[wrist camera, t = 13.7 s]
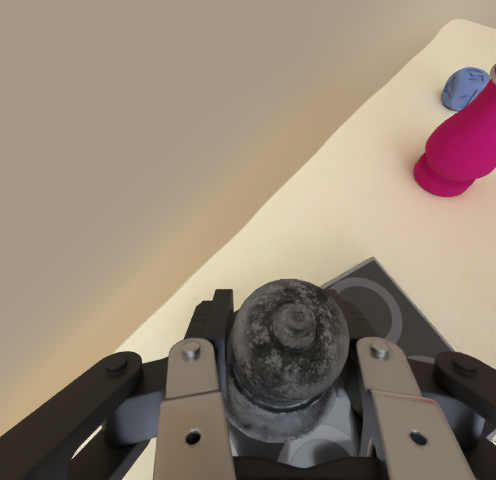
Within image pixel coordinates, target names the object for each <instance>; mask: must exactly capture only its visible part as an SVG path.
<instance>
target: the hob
mask: <svg viewBox="0 0 496 480" xmlns="http://www.w3.org/2000/svg"><path fill="white" fill-rule="evenodd" d="M320 288H322V289H335V290H336V292H337V293H338V295H339V296H340V298H341V300H349V301H350V302H352V303H353V304H355V305H356V306H357V307H358V308H359V309H360V311H361V312H362V315H364V316H365V318H366V320H367V321H368V322H369V323H370V325H371V326H372V327H373V329H374V330H375V332H376V333H377V334H378V336H379V337H380V338H383V339H386V340H389V341H391V342H393V343H394V344H396V345H397V346H399V347H400V348H401V349H402V350H403V352H404V354H405V356H406V358H409V359H413V360H418V361H423V362H427V363H432V364H434V362H435V357H436V355H437V354H438V353H440V352H444V351H453V352H455V350H454V349H453V348H452V347H451V346H450V345H449V344H448V342H447V341H446V340H445V339H444V338H443V337H442V335H441V334H440V333H439V332H438V331H437V330H436V328H435V327H434V326H433V325H432V324H431V323H430V322H429V320H428V319H427V318H426V317H425V316H424V315H423V313H422V312H421V311H420V310H419V309H418V308H417V306H416V305H415V304H414V303H413V302H412V301H411V300H410V298H409V297H408V296H407V295H406V294H405V293H404V291H403V290H402V289H401V288H400V287H399V286H398V284H397V283H396V282H395V281H394V280H393V279H392V278H391V276H390V275H389V274H388V273H387V272H386V271H385V269H384V268H383V267H382V266H381V265H380V264H379V262H378V261H377V260H376V259H375V258H374V257H371V258H369V259H367V260H366V261H364V262H362V263H361V264H359V265H357V266H355V267H354V268H352V269H350V270H348V271H347V272H345V273H343V274H341V275H340V276H338V277H336V278H334V279H333V280H331V281H329V282H328V283H326V284H324V285H322V286H321V287H320ZM349 411H350V401H349V398H336V400H335V403H334V406H333V408H332V410H331V412H330V413H329V414H328V416H327V417H326V419H325V420H324V421H323V423H322V424H321V425H320V426H319V427H318V428H316V429H315V430H313V431H312V432H311V433H309V434H308V435H307V436H305V437H303V438H300V439H297V440H293V441H290V442H287V443H267V442H264V441H261V440H258V439H255V438H252V437H249V436H247V435H246V434H245V433H243V432H242V431H240V430H239V429H238V428H236V427H235V426H233V425H232V424H231V422H230V421H229V420H228V419H227V417H226V419H227V425H228V432H229V438H230V444H231V450H232V456H259V457H263V458H266V459H270V460H273V461H277V462H281V463H284V464H288V465H292V466H295V467H299V468H307V467H311V466H314V465H318V464H321V463H325V462H328V461H332V460H335V459H338V458H342V457H354V454H353V445H352V436H351V427H350V418H349ZM481 434H482V435H483V436H484V437H486V438H487V439H488V440H489V441H490V440H491V439H492V438H494V437H495V436H496V428H495V427H494V426H493V425H491V424H490V423H489V422H487V421H486V420H485V422H484V426H483V429H482V433H481Z"/></svg>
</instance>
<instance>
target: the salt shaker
mask: <svg viewBox="0 0 496 480" xmlns="http://www.w3.org/2000/svg"><path fill="white" fill-rule="evenodd" d="M349 341H350V338H349V332H348V325H347V322H346V320H345V317H344V315H343V312H342V310H341V309H340V307H339V306H338V304H337V303H336V302H335V300H334V299H333V298H332V297H331V296H330V295H329V294H327V293H326V292H325V291H324V290H323V289H322V288H320V287H318V286H316V285H314V284H312V283H310V282H306V281H302V280H298V279H280V280H276V281H273V282H269V283H267V284H265V285H263V286H261V287H260V288H258V289H256V290H255V291H254V292H253V293H252V294H251V295H250V296H249V297H248V298H247V299H246V300H245V301H244V303H243V304H242V306H241V308H240V309H239V310H237V311H235V312H234V325H233V328H232V329H231V332H230V336H229V339H228V346H227V365H228V370H229V384H228V394H227V397H223V401H224V407H225V413H226V417H227V419H228V420H229V421H230V422H231V424H232V425H233V426H235V427H236V428H238V429H239V430H240V431H242V432H243V433H245V434H246V435H247V436H249V437H252V438H255V439H258V440H261V441H264V442H267V443H287V442H290V441H293V440H297V439H300V438H303V437H305V436H307V435H308V434H309V433H311V432H312V431H313V430H315V429H316V428H318V427H319V426H320V425H321V424H322V423H323V421H324V420H325V419H326V417H327V416H328V414H329V413H330V412H331V410H332V408H333V406H334V403H335V400H336V398H337V395H336V392H335V390H334V387H333V383H334V381H335V380H336V379H337V377H338V376H339V375H340V374H341V372H342V369H343V367H344V364H345V362H346V359H347V356H348V350H349Z"/></svg>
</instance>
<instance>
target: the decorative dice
mask: <svg viewBox="0 0 496 480" xmlns="http://www.w3.org/2000/svg"><path fill="white" fill-rule="evenodd" d="M489 80H490V76H489V75H488V74H487V73H486V72H485V71H483V70H481V69H478V68H473V67H467V68H463V69H461V70H459V71H457V72H455V73H454V74H453V75H451V76H450V78H449V79H448V81H447V82H446V84H445V86H444V89H443V93H442V102H443V103H444V105H445V106H447V107H448V108H450V109H452V110H456V111H460V110H462V109H463V108H464V107H466V106H467V105H468V104H470V103H471V102H472V101H473V100H474V99H475V98H476V97H477V96H478V95H479V94H480V92H481V91H482V90H483V89H484V88H485V86H486V85H487V83H488V82H489Z"/></svg>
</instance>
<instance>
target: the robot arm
mask: <svg viewBox="0 0 496 480" xmlns="http://www.w3.org/2000/svg"><path fill="white" fill-rule="evenodd" d="M323 290H324V291H325V292H326V293H327V294H329V295H330V296H331V297H332V298H333V299H334V300H335V302H336V303H337V304H338V306H339V307H340V309H341V310H342V312H343V315H344V317H345V320H346V322H347V325H348V332H349V338H350V341H349V350H348V356H347V359H346V362H345V364H344V367H343V369H342V372H341V374H340V375H339V376H338V377H337V379H336V380H335V381H334V383H333V387H334V390H335V392H336V395H337V398H349V401H350V411H349V418H350V427H351V436H352V445H353V454H354V457H342V458H338V459H335V460H332V461H328V462H325V463H321V464H318V465H314V466H311V467H307V468H299V467H295V466H292V465H288V464H284V463H281V462H277V461H273V460H270V459H266V458H263V457H259V456H232V450H231V444H230V438H229V432H228V425H227V419H226V413H225V407H224V401H223V397H227V394H228V384H229V370H228V365H227V346H228V339H229V336H230V332H231V329H232V328H233V325H234V308H233V289H216V290H215V294H214V297H213V301H202V302H201V303H200V304H199V305H198V306H197V307H196V308H195V311H194V314H193V316H192V319H191V321H190V324H189V327H188V329H187V332H186V334H185V337H184V340H182V341H179V342H178V343H176V344H175V345H174V346H173V347H172V348H171V349H170V351H169V356H168V357H166V358H163V359H160V360H156V361H152V362H147V363H143V364H142V359H141V357H140V355H138V354H137V353H135V352H129V351H125V352H118V353H114V354H112V355H109V356H107V357H105V358H103V359H102V360H100V361H99V362H98V363H96V364H95V365H94V366H93V367H91V368H90V369H89V370H87V371H86V372H85V373H83V374H82V375H81V376H79V377H78V378H77V379H75V380H74V381H73V382H72V383H70V384H69V385H68V386H66V387H65V388H64V389H62V390H61V391H60V392H58V393H57V394H56V395H55V396H53V397H52V398H51V399H49V400H48V401H47V402H45V403H44V404H43V405H42V406H40V407H39V408H38V409H36V410H35V411H34V412H33V413H31V414H30V415H29V416H27V417H26V418H25V419H23V420H22V421H21V422H19V423H18V424H17V425H15V426H14V427H13V428H11V429H10V430H9V431H8V432H6V433H5V434H4V435H2V436H1V437H0V480H122V479H123V477H124V476H125V475H126V473H127V472H128V471H129V469H130V468H131V467H132V465H133V464H134V463H135V461H136V460H137V459H138V457H139V456H140V455H141V453H142V452H143V451H144V449H145V448H146V447H147V445H148V444H149V442H150V440H151V438H155V437H157V443H156V453H155V463H154V473H153V480H496V445H494V444H493V443H492V442H491V441H489V440H488V439H487V438H486V437H484V436H483V435H482V434H481V433H482V429H483V426H484V422H485V420H486V421H487V422H489V423H490V424H491V425H493V426H494V427H495V428H496V370H495V369H493V368H492V367H490V366H488V365H486V364H485V363H483V362H481V361H480V360H478V359H476V358H474V357H471V356H469V355H466V354H463V353H459V352H453V351H444V352H440V353H438V354H437V355H436V357H435V362H434V364H432V363H427V362H423V361H418V360H413V359H409V358H406V356H405V354H404V352H403V350H402V349H401V348H400V347H399V346H397V345H396V344H394V343H393V342H391V341H389V340H386V339H383V338H380V337H379V336H378V334H377V333H376V332H375V330H374V329H373V327H372V326H371V325H370V323H369V322H368V321H367V320H366V318H365V316H364V315H362V312H361V311H360V309H359V308H358V307H357V306H356V305H355V304H353V303H352V302H350V301H349V300H341V298H340V296H339V295H338V293H337V292H336V290H335V289H323ZM100 425H101V426H102V429H101V430H100V431H99V432H98V433H97V434H96V435H95V436H94V437H93V438H92V439H91V440H90V441H89V442H88V443H87V444H86V445H85V447H84V448H83V449H82V450H81V451H80V452H79V453H78V454H77V455H76V456H75V457H74V458H73V459H72V457H73V455H74V454H75V452H76V451H77V449H78V448H79V447H80V446H81V445H82V444H83V443H84V442H85V441H86V440H87V438H88V437H89V436H90V435H91V434H92V433H93V432H94V431H95V430H96V429H97V428H98V427H99V426H100ZM71 459H72V460H71Z"/></svg>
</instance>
